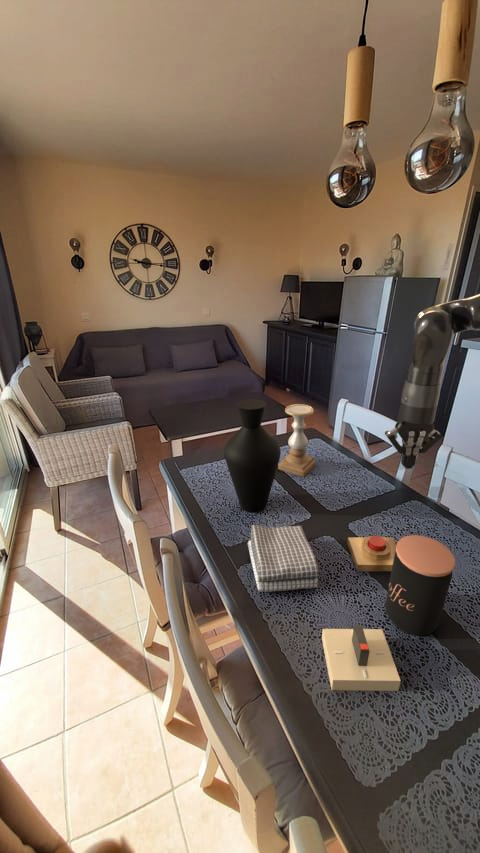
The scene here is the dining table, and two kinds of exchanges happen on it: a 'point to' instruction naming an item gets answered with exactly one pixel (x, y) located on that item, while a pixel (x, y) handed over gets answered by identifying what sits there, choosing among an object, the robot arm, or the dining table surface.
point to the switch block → (371, 554)
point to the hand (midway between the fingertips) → (407, 466)
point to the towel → (282, 559)
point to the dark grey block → (360, 646)
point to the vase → (252, 457)
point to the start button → (377, 543)
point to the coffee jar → (419, 584)
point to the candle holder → (298, 443)
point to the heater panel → (345, 666)
